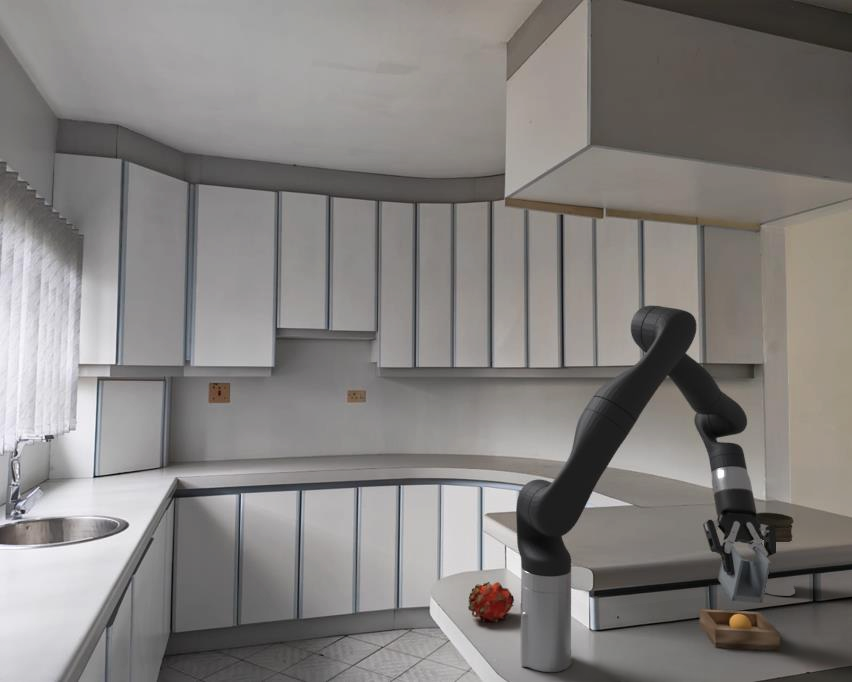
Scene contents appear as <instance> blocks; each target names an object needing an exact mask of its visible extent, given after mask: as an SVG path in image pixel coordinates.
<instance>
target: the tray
mask: <svg viewBox="0 0 852 682" xmlns="http://www.w3.org/2000/svg"><path fill="white" fill-rule="evenodd" d="M735 614H742V615H744V616H746V617H747V618H748V619H749V620H750V622H751V629H738V628H731V627H730V619H731V617H732V616H733V615H735ZM700 626H701V627H702V628H701V627H700ZM699 627H700V628H701V630H702V629H703V630H704V631H703V630H702V631H703V632H704V634H705V633H706V634H705V635H706V637H707V636H708V637H707V638H708V640H709V641H710V640H711V641H710V642H711V643H712V645H713V647H715V648H719V647H721V648H722V649H723V648H724V649H740V650H755V649H761V650H760V651H773V650H779V651H780V652H781V638H780V637H781V633H780V631H779V630H778V629H777V628H776V626H775V627H774V625H773V624H771V622H770V621H769V620H768V619H767V618H766V617H765V616H764V615H763V614H762V613H761V612H759V611H744V610H743V611H739V610H724V609H703V608H700V609H699Z"/></svg>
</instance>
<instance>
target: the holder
mask: <svg viewBox="0 0 852 682" xmlns="http://www.w3.org/2000/svg"><path fill="white" fill-rule="evenodd" d="M730 554H732V558H733V565H734V571H735V573H734V574H733V575H727V573H726V572H725V571H724V570H723V564H722V561H721V563H720V566H719V572H718V577H717V580H718V581H719V583H720V584H721V586H722V587H723V589H724V590H725V592H726V593H727V595H728V596H729V598H730V599H731V601H733V602H734V601H736V602H745V603H756V604H757V603H758V604H762V603H763V600H764V595H765V593H764V592H765V588H766V583H767V579H768V575H769V570H770V566H771V562H770V560H769V559H768V558H767V557H766V556H765V554H764V553H763V552H762V551H761V549H758V548H757V550H756V554H755V553H754V559H753V560H751V559H743V557H742V556H741V555H740V554H739V552H738V550H736V548H735V547H734V545H733V546H731V552H730Z"/></svg>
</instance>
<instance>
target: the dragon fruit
mask: <svg viewBox="0 0 852 682" xmlns="http://www.w3.org/2000/svg"><path fill="white" fill-rule="evenodd" d="M514 601H515V598H514V595H512V592H511V591H510V589H509V588H506V587H503V586H502V584H501V583H500V582H498V581H497V582H495V583H494V584H491V583H490V581H488V582H484V583H483V585H482V584H476V585H475V587H473V588H472V589H471V592H470V593H469V595H468V606H467V607H468V610H469V611H470V612H471V615H472V617H474V618H479V619H480V621H481V622H484V621H486V619H487V620H489V621H490V622H495V623H497V622H498V621H499V619H501V620H505V619H506V618H507V617H508V616H509V615H508V613H509V612H510V610H511V609H512V607H514Z"/></svg>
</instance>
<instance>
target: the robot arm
mask: <svg viewBox="0 0 852 682" xmlns="http://www.w3.org/2000/svg"><path fill="white" fill-rule="evenodd" d="M631 319H632V320H631V322H630V333H631V338H632V340H633V341H634V343H635V344H636V345H637V346H638V347H639V348H640V349H641V351H643V352H644V353H645V354H644V355H643V356H642V357H641V359H640V360H639V361H637V363H635V364H634V365H633V366H631V367H630V368H629V369H627V370H626V371H623V372H622V373H620V374H618V375H617V376H616V377H613V378H612V379H611V380H609V381H608V382H606V383H605V384H603V385H602V386H601V387H600V388H599V389H598V390H597V391H596V392H595V393H594V395H593V396H592V398H591V399H589V400H590V401H589V402H588V404H587V405H586V407H585V408H584V410H583V411H582V413H581V415H580V417H579V419H578V422H577V425H576V428H575V432H574V438H573V443H572V446H571V451H570V453H569V457H568V459H567V460H566V462H565V464H564V466H563V467H562V468H561V470H560V471H559V473H558V474H557V475H556V476H555V478H554V479H553V481H549V480H545V479H533V480H530V481H529V482H527V483H526V484H525V485H523V487H522V488H521V490H520V491H519V494H518V497H517V501H516V509H515V510H516V513H515V515H516V543H517V548H518V549H517V550H518V553H519V556H520V561H521V563H520V565H521V568H520V571H521V572H520V573H521V577H520V578H521V579H520V580H521V581H520V590H521V591H520V595H521V596H520V633H519V634H520V636H519V637H520V644H519V645H520V646H519V647H520V648H519V649H520V665H521V667H523V668H524V667H527V668H529V669H532V670H534V671H538V672H544V673H556V672H562V671H564V670H567V669H569V668H570V666H571V663H572V557H571V554H570V552H569V550H568V549H567V547H566V545H565V541H564V539H563V536H564V535H567V534H568V533H569V532H570V531H572V529H573V528H574V527H575V525H576V524H577V522H578V521H579V519H580V518H581V515H582V514H583V511H584V510H585V507H586V505H588V502H589V500H590V498H591V495H592V493H593V492H594V489H595V487H596V485H598V482H599V480H600V479H601V477H602V475H603V474H604V473H605V470H606V469H607V467H608V466H609V464H610V462H611V461H612V459H613V458H614V456H615V454H616V453H617V451H618V450H619V448H620V447H621V446H622V444H623V443H624V441H625V440H626V439H627V437H628V435H629V434H630V432H631V431H632V429H633V427H634V426H635V424H636V423H637V421H638V420H639V417H640V416H641V414H642V412H643V411H644V409H645V408H646V406H647V405H648V403H649V402H650V401H651V399H652V397H654V394H655V393H656V391H657V390H658V389H659V387H660V386H661V385H662V383H663V382H664V381H665V379H666V378H667V377H669V379H670V380H671V381H672V383H674V385H675V386H676V387H677V388H678V390H679V391H680V393H681V395H682V396H683V397H684V399H685V400H686V402H687V403H688V404H689V406H690V408H691V409H692V410H693V411H694V412H695V415H694V420H693V422H694V425H695V429H696V430H697V432H698V434H699V436H700V438H701V439H702V442H703V445H704V447H705V449H706V452H707V455H708V460H709V466H710V471H711V486H712V489H711V490H712V493H713V498H714V499H713V500H714V504H715V510H716V515H717V519H716V520H712V519H708V520H707V521H705V522H704V523H703V524H702V526H703V530H704V533H705V536H706V540H707V543H708V546H709V549H710V551H711V552H712V553H716V554H719V555H720V558H721V562H722V564H723V570H724V571H725V572H726V573H727V575H733V574H734V573H735V571H734V565H733V558H732V554H730V552H731V546H733V547H734V544H735V543H742V544H746V545H747V546H748V548H749V549H751V550H752V552H753V553H754V555H755V554H756V550H757V548H758V549H761V551H762V552H763V553H764V554H765V556H766V557H769V556H771V555H773V554H775V553H776V535H775V526H774V525H772V524H771V525H763V524H760V522H759V521H758V519H757V515H756V514H757V507H756V503H755V502H756V501H755V498H754V492H753V487H752V483H751V478H750V475H749V473H748V469H747V468H748V467H747V463H746V458H745V452H744V450H743V447H742V446H741V445H740V444H738V443H736V442H723V441H721V442H720V441H718V440H717V439H718V438H723V437H729V436H735V435H738V434H741V433H742V432H744V431H745V429H746V428H747V425H748V419H747V414H746V412H745V411H744V409H743V407H741V405H740V404H739V403H738V402H736V400H734V399H733V398H732V397H730V396H728V395H727V394H726V393H725V392H723V391H722V390H721V389H720V387H719V385H718V384H717V382H716V381H715V379H714V378H713V376H712V374H711V373H710V372H709V371H708V370H707V369H706V368H704V367H703V365H701V364H700V363H699V362H697V360H695V359H694V358H692V357H691V356H689V354H687V352H688V350H689V349H690V347H691V346H692V344H693V342H694V340H695V337H696V333H697V320H696V318H695V316H694V315H693V314H692V313H691V312H689V311H687V310H683V309H679V308H672V307H667V306H661V305H645V306H643V307H640V308H639V309H638V310H637V311H636V312H635V313H634V315H633V317H632V318H631ZM718 529H719V530H720V531H721V532H722V533H723V537H722V540H721V541H720V538H719V534H718V533H717V531H718ZM759 530H760V531H761V533H762V535H763V536H764V546H763V544H762V540H761V539H760V537H759V536H758V534H757V533H758V531H759ZM769 572H770V570H769Z"/></svg>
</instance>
